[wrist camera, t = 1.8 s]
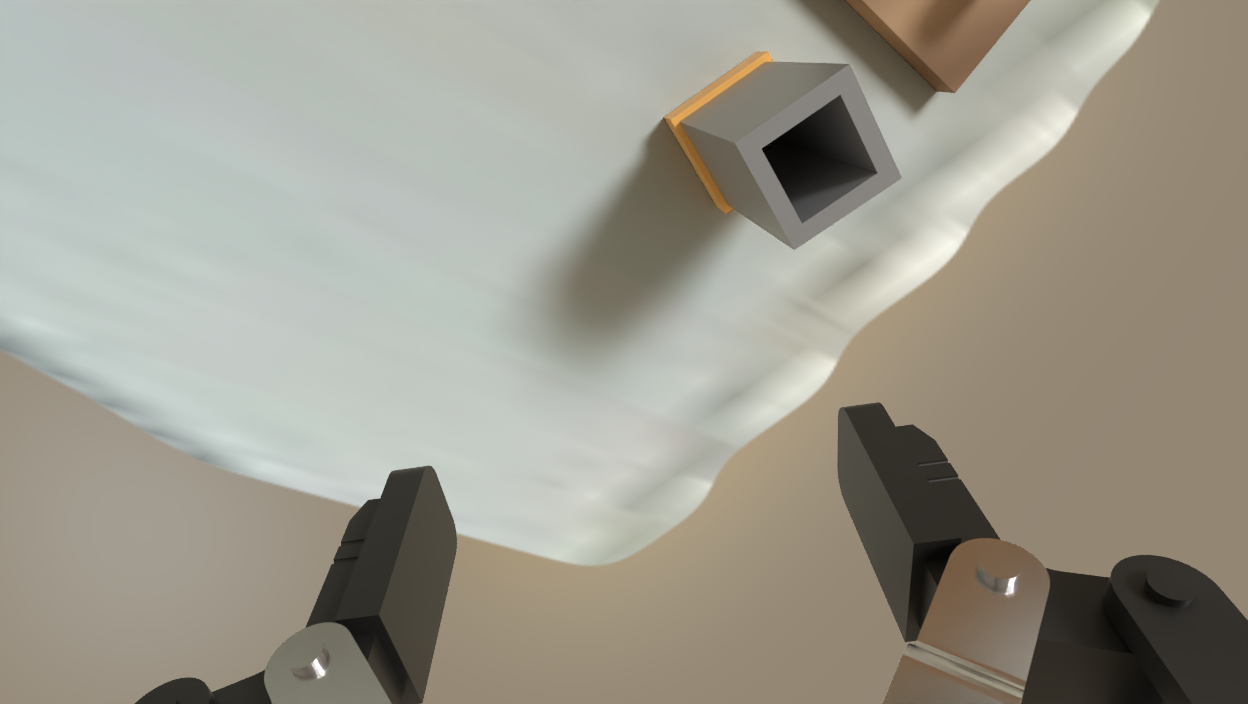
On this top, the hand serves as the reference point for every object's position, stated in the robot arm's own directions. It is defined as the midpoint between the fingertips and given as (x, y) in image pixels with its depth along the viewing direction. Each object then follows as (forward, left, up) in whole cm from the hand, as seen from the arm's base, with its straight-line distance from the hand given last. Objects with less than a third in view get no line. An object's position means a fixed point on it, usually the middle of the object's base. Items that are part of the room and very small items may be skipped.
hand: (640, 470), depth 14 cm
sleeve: (+4, +8, -23) cm, 25 cm away
